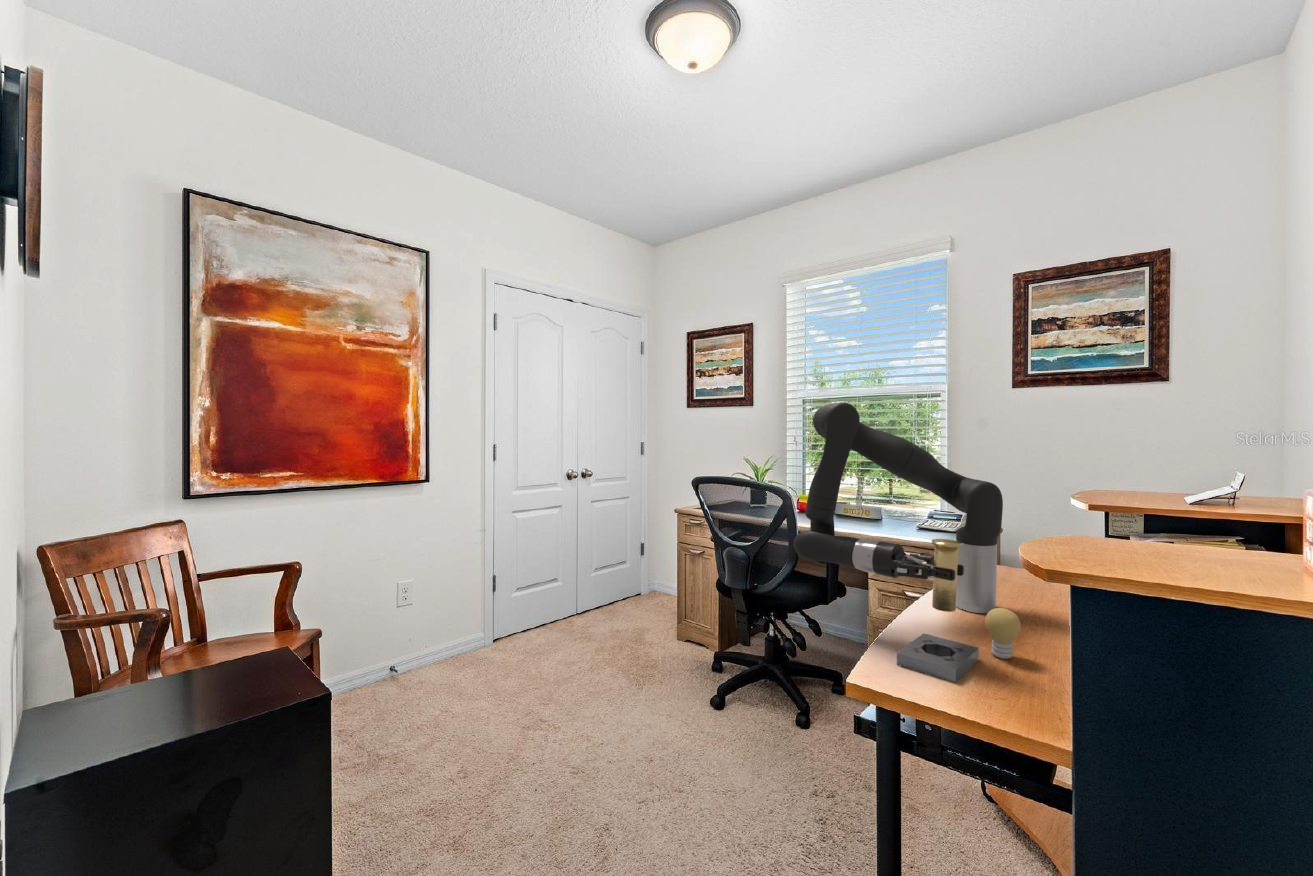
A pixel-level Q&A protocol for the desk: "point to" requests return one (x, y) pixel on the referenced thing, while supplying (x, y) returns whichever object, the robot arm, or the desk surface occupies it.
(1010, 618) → the light bulb
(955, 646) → the jig
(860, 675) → the desk surface
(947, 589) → the rivet
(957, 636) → the desk surface
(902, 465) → the robot arm
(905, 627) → the desk surface
